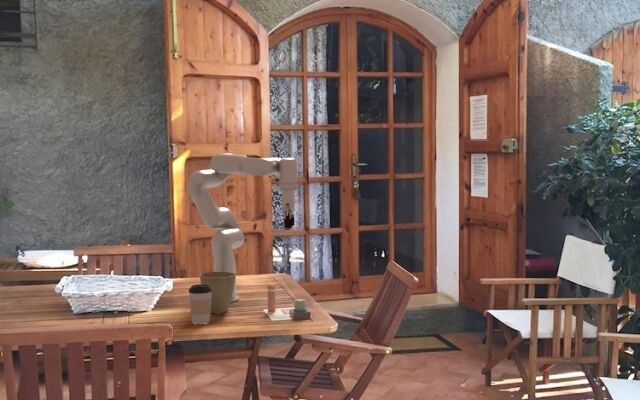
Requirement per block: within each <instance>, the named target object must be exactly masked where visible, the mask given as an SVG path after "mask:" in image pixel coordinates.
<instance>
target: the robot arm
mask: <svg viewBox="0 0 640 400" xmlns="http://www.w3.org/2000/svg"><path fill="white" fill-rule="evenodd" d="M297 164H298V163H297V159H296V158H295V157H283V158H279V157H265V158H263V157H262V158H259V157H249V156H247V155H245V154H233V153H225V152H224V153H217V154H215V155H212V157H211V159H210V169H201V170H200V169H199V170H196V171H194V172H192V173H191V175H190V176H189V177H188V180H187V185H186V186H187V192H188V194H189V197H190V198H191V200H192V202H193V203H194V205H195V207H196V209H197V212H198V214H199V215H200V217H201V220H202V222H203V224H204V225H205V227H206V228H207V229H208V230H211V231H213V230H217V231H216V232H214V234H213V235H212V237H211V243H210V244H211V248H212V249H211V250H212V255H213V269H214V270H213V272H216V271H224V272H232V273H235V274H236V275H237V273H236V257H235V254H234V250H236V249H237V248H240V247H242V245H243V244H244V242H245V235H244V233H243V230H242V228H241V226H240V224H239V223H238V221H237V218H236V217H235V215H234V213H233V212H232V210H231V209H229V208H227V207H225V206H221V207H219V206H218V205H217V203H216V201H215V199H214V198H213V196H212V194H211V193H209V192H208V190H207V189H213V188H217V187H219V186H221V185H222V184H223V183H225V181H226V180H227V179H229V177H230V176H232V175H233V174H234V175H236V174H237V175H247V176H255V177H256V176H258V177H269V176H271V177H272V176H278V177H279V178H278V179H279V180H278V181H279V192H281V214H282V215H284V219H283V221H284V223H283V224H284V226H283V227H284V229H293V227H294V226H295V214H294V213H295V210H296V195H295V193H296V192H295V191H298V168H297V166H298V165H297ZM236 278H237V277H235V284H234V290H233V294H232V298H231V302H230V303H233V302H237V301H239V300H240V295H237V286H236V285H237V284H236V283H237V279H236Z"/></svg>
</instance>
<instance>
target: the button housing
mask: <svg viewBox="0 0 640 400" xmlns="http://www.w3.org/2000/svg"><path fill="white" fill-rule="evenodd" d="M289 310H290V316H291V317H292V318H293V319H292V320H297V319H298V320H299V318H301V319H312V318H311V317H312V315H311V311H310V310H309V309H308V308H307V307H305V312H294V309H289Z"/></svg>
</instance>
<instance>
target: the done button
mask: <svg viewBox="0 0 640 400" xmlns="http://www.w3.org/2000/svg"><path fill="white" fill-rule="evenodd" d="M293 301H294V302H293V304H294V306H293V307H294V312H305V308H306V300H305V299H304V298H303V299H301V298H297V299H294V300H293Z"/></svg>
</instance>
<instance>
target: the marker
mask: <svg viewBox="0 0 640 400" xmlns="http://www.w3.org/2000/svg"><path fill="white" fill-rule="evenodd" d="M276 302H277V301H276V284H274V283H272V284H270V283H269V284H267V309H268V312H275V311H276V309H277V308H276V306H277V305H276Z"/></svg>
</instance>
